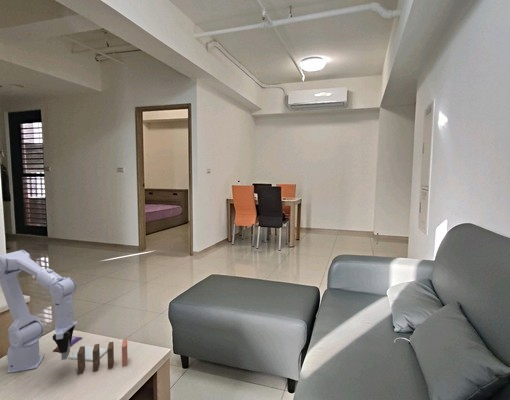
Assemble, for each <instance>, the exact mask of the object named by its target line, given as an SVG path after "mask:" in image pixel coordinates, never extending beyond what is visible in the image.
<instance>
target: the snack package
mask: <svg viewBox="0 0 510 400" xmlns="http://www.w3.org/2000/svg"><path fill="white" fill-rule="evenodd" d="M81 339H83V337H81V336H74V335H72V340H71V344H70V348H71V347H72V346H73V345H75V344H77V343H78V342H79V341H80V340H81ZM52 352H59V349H58V346H57V345H56V347H55V348H54V349H53V350H52Z"/></svg>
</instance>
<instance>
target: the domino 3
mask: <svg viewBox="0 0 510 400" xmlns="http://www.w3.org/2000/svg"><path fill="white" fill-rule="evenodd" d="M93 347H94V348H93V362H92V372H93V373H94V372H95V373H96V372H98V371H99V367H100V364H101V359H100V349H99V348H100V343H95V344H94V345H93Z"/></svg>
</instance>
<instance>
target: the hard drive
mask: <svg viewBox="0 0 510 400" xmlns="http://www.w3.org/2000/svg"><path fill="white" fill-rule="evenodd" d="M84 346H85V362H90V363H93V348H94V346H88V345H87V346H86V345H84ZM79 348H80V347H78V348H77V349H76V350H74V352H72V353H71V354H70V355H68V357H67V360H73V361H77V353H78V351H79ZM99 349H100V360H101V358H103V357H104V356H105V355H106V354H107V347H106V348H105V347H99Z"/></svg>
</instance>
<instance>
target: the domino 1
mask: <svg viewBox="0 0 510 400" xmlns="http://www.w3.org/2000/svg"><path fill="white" fill-rule="evenodd" d="M65 333H66V334H67V333H69V331H67V332H65ZM70 353H71V347H70V338H69V343H68V350H67V352H65V353H60V354H61V360H62V361H63V360H64V361H65V360H68V357H69V356H70V355H69V354H70Z"/></svg>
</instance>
